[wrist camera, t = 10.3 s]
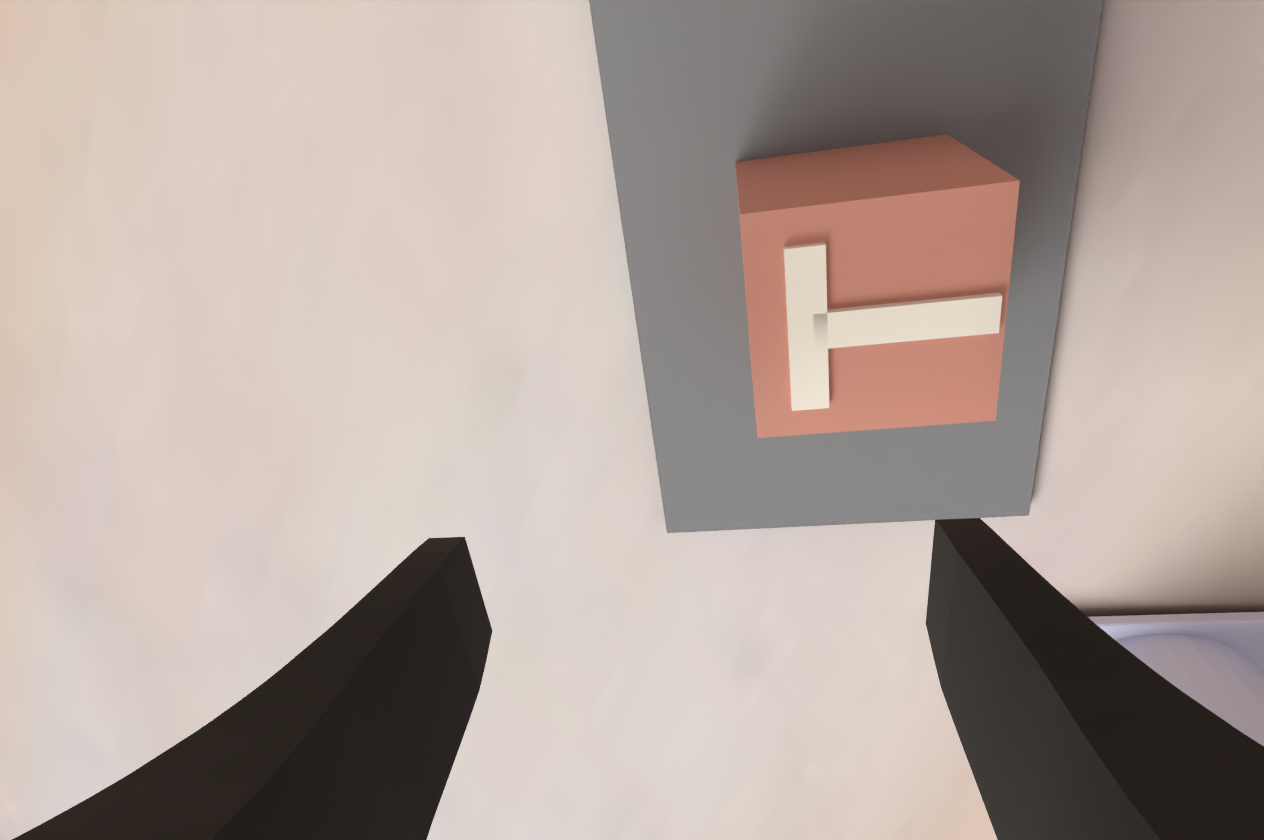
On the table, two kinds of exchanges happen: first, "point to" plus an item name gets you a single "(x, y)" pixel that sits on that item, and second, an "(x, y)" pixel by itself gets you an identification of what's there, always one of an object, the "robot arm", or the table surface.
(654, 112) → the charcoal mat
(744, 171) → the lettered cube
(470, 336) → the table surface
